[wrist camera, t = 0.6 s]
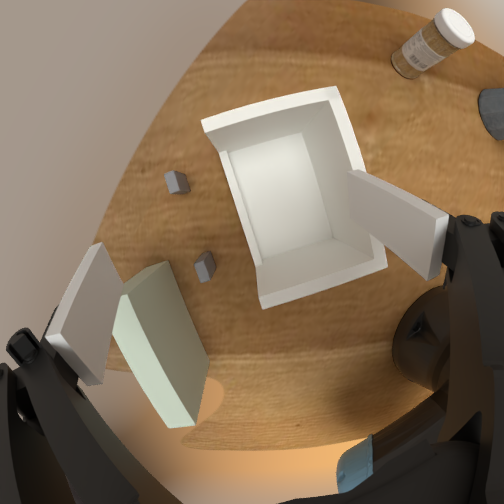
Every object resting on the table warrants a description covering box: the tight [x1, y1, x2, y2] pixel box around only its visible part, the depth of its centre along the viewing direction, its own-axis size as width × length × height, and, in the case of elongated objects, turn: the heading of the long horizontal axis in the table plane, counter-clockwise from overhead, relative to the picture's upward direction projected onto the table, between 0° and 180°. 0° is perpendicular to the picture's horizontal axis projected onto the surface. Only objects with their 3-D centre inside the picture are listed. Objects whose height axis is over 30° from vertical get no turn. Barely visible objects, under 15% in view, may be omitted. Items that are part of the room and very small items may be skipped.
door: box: [112, 260, 210, 428], centre depth 27 cm, size 14×4×12 cm, turn 18°
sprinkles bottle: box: [391, 8, 475, 79], centre depth 20 cm, size 5×5×14 cm
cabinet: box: [164, 86, 388, 310], centre depth 25 cm, size 14×15×12 cm
